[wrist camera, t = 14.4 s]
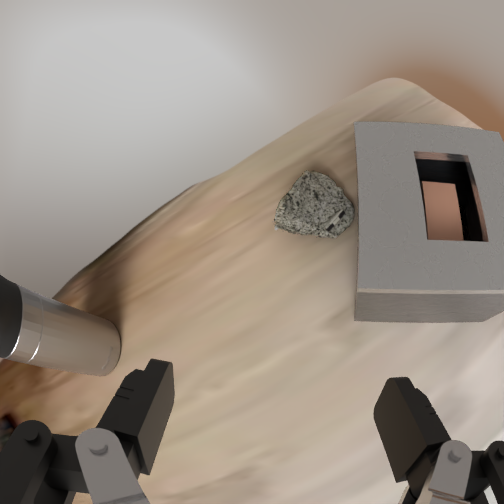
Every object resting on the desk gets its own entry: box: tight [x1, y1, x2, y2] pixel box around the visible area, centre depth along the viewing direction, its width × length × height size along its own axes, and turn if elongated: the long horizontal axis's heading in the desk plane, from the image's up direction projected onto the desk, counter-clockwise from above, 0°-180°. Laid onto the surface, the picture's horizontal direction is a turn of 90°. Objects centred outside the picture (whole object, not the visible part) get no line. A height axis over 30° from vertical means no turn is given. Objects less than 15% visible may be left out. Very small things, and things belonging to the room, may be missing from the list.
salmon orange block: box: [421, 181, 464, 241], centre depth 26 cm, size 6×4×10 cm, turn 170°
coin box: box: [354, 122, 504, 323], centre depth 25 cm, size 16×16×13 cm
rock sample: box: [273, 170, 354, 239], centre depth 35 cm, size 10×8×9 cm
